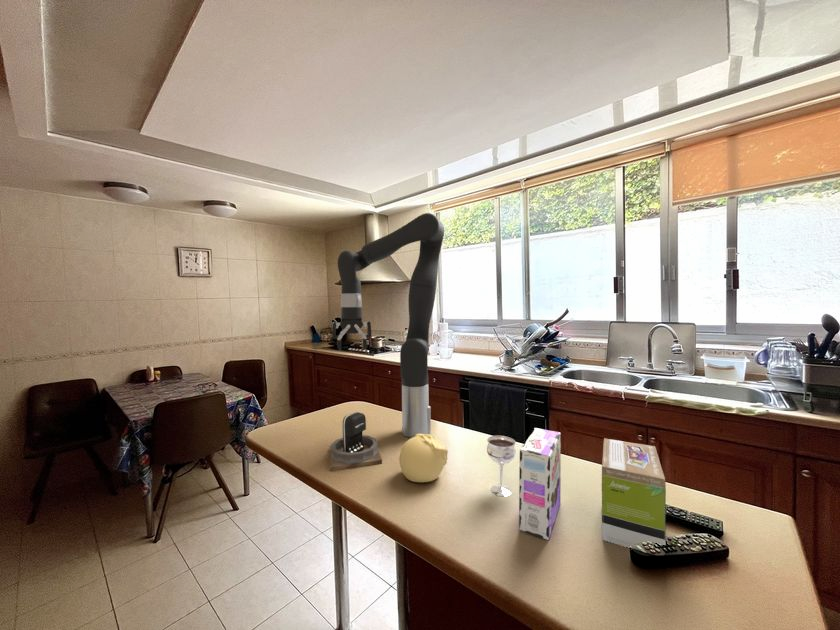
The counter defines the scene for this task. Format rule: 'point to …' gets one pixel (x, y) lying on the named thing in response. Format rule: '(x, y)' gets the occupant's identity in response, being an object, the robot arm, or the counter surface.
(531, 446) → the candy box
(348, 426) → the battery charger
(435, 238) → the robot arm
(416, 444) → the sculpture
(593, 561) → the counter surface
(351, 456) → the ring collar
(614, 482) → the tea box
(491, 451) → the wineglass
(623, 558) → the counter surface
